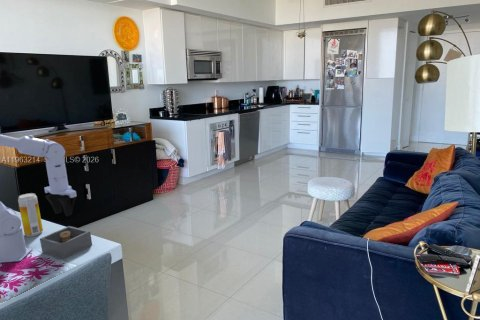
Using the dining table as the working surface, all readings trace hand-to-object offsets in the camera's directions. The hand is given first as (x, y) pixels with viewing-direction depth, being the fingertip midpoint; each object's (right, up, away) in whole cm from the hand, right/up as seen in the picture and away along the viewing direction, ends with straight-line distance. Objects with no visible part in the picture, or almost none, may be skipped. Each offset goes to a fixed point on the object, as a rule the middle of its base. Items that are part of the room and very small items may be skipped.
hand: (63, 214), depth 128 cm
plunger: (+3, -10, -4) cm, 12 cm away
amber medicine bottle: (-16, -9, +9) cm, 20 cm away
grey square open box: (+3, -11, -4) cm, 12 cm away
